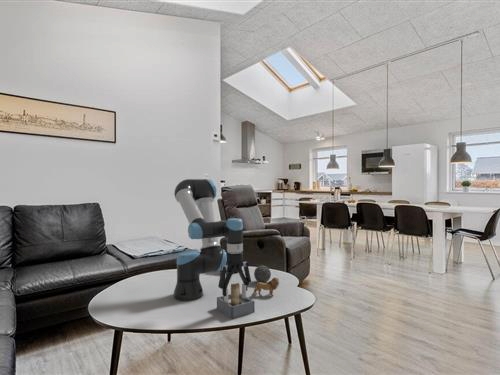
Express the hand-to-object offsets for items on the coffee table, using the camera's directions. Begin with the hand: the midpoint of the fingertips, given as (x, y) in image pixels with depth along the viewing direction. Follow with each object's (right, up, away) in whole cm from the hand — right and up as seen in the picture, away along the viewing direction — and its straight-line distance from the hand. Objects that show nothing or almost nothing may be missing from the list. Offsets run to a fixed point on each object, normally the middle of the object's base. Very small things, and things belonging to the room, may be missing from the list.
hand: (235, 300), depth 137 cm
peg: (0, -4, 0) cm, 4 cm away
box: (0, -4, 0) cm, 4 cm away
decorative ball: (+14, -5, +39) cm, 42 cm away
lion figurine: (+16, -5, +19) cm, 25 cm away
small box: (-6, -5, +64) cm, 64 cm away
